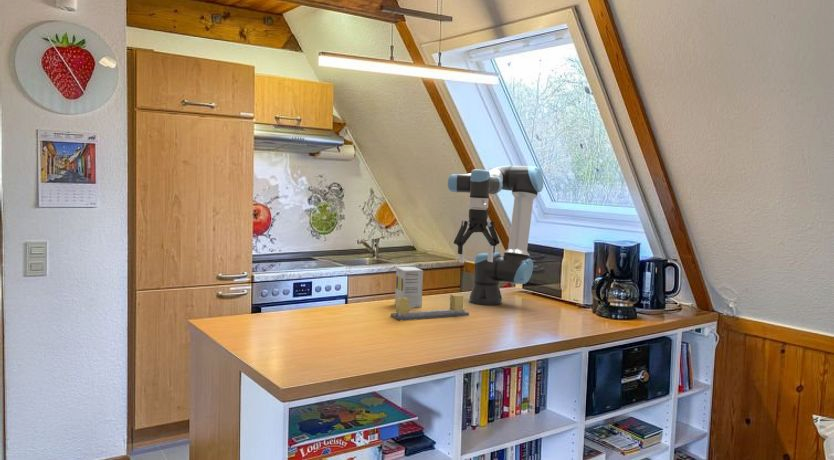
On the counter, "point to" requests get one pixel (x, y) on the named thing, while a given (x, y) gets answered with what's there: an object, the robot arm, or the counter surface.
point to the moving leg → (402, 305)
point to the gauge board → (437, 311)
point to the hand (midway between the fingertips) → (475, 262)
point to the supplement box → (409, 285)
